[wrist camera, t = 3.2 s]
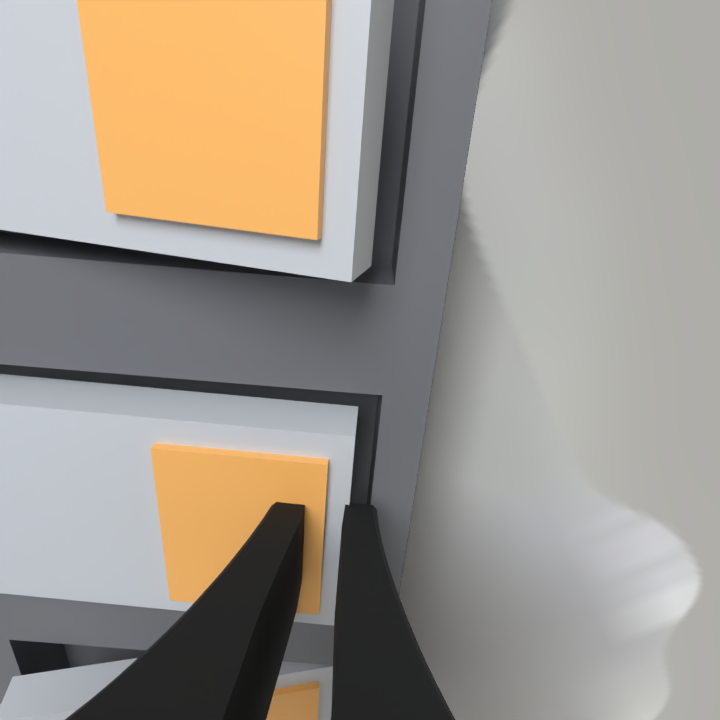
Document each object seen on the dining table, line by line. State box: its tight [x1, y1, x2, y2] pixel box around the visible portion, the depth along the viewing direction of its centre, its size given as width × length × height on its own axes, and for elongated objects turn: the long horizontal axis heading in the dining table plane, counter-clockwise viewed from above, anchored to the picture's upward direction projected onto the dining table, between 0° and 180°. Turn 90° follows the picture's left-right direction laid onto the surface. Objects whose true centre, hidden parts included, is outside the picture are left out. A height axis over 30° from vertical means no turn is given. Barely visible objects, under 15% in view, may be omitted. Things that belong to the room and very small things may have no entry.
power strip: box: [0, 0, 492, 704], centre depth 13 cm, size 12×28×4 cm, turn 176°
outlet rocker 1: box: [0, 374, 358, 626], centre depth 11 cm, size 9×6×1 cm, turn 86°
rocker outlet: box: [0, 0, 394, 282], centre depth 7 cm, size 9×6×1 cm, turn 86°
